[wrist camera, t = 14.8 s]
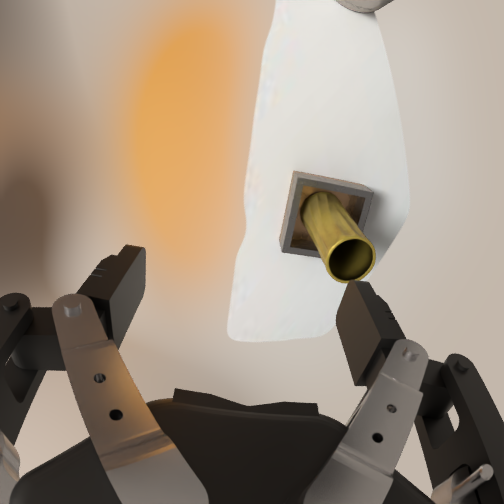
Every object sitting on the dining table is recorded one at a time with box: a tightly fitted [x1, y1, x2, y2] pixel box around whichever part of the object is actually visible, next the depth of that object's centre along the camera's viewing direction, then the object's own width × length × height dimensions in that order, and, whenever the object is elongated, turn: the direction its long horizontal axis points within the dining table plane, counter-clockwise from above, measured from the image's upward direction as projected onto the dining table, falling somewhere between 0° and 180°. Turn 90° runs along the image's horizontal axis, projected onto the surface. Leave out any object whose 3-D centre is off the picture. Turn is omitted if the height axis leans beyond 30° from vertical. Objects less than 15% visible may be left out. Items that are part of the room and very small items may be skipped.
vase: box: [300, 192, 376, 283], centre depth 37 cm, size 6×6×14 cm
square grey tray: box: [279, 171, 373, 258], centre depth 42 cm, size 10×10×4 cm
